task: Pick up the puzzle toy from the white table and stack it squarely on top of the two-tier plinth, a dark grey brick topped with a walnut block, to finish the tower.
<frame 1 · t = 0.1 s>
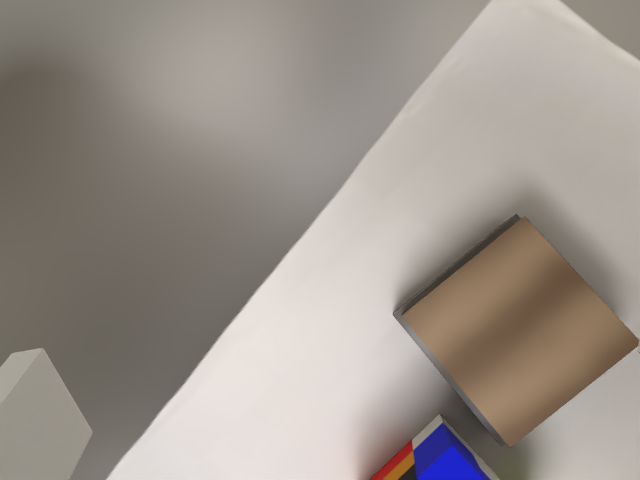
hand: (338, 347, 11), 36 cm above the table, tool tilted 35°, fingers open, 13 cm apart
plinth: (498, 325, 45), on the table
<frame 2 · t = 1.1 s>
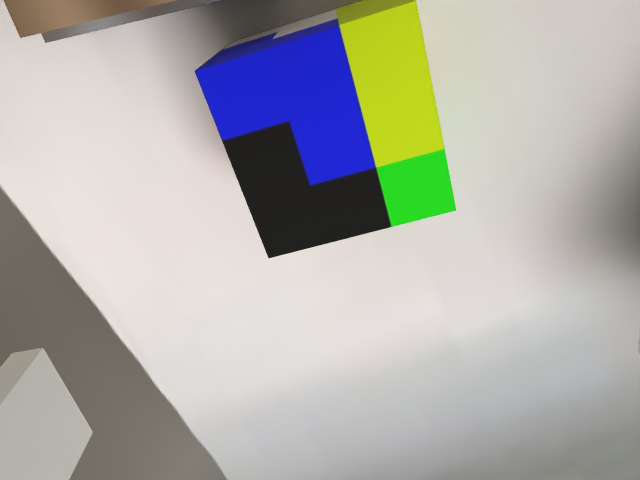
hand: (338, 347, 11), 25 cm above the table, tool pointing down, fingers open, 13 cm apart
puzzle toy: (331, 97, 33), on the table
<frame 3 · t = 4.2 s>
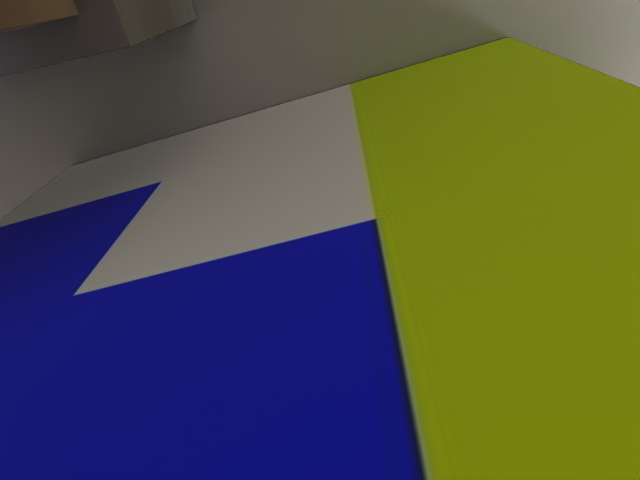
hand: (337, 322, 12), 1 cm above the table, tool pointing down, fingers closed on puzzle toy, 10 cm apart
puzzle toy: (336, 286, 14), on the table, touching gripper
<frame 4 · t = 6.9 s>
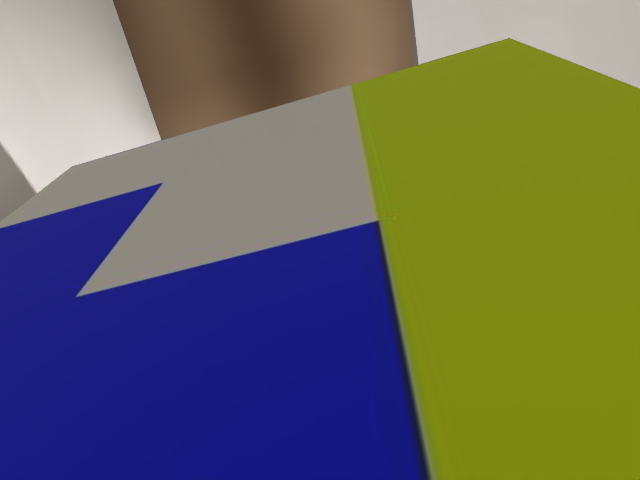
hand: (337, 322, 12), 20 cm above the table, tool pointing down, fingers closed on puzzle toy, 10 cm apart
puzzle toy: (337, 287, 14), point 19 cm above the table, touching gripper
plinth: (289, 52, 29), on the table
when the fingers open (10 cm above the table, at t = 10.0 s): puzzle toy drops 2 cm, resting on plinth.
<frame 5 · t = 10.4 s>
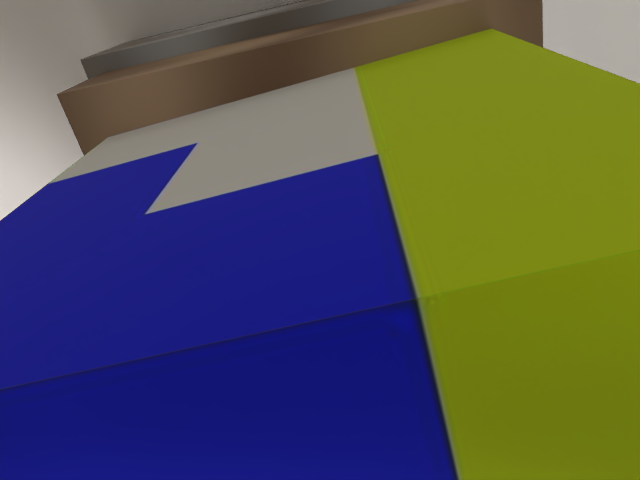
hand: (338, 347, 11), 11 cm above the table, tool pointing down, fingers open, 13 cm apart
puzzle toy: (339, 250, 15), point 7 cm above the table, touching plinth
plinth: (333, 171, 21), on the table
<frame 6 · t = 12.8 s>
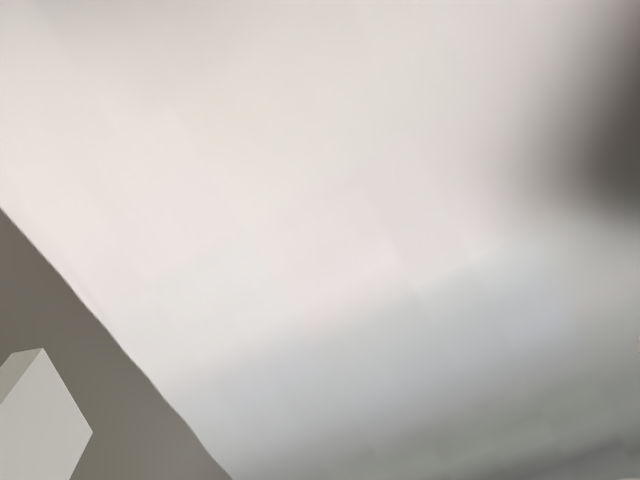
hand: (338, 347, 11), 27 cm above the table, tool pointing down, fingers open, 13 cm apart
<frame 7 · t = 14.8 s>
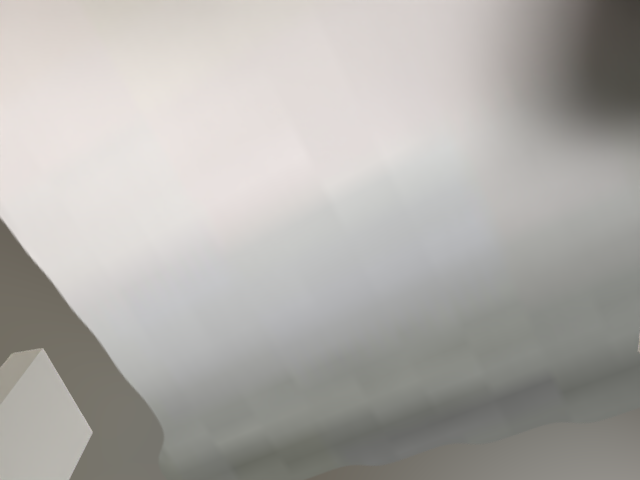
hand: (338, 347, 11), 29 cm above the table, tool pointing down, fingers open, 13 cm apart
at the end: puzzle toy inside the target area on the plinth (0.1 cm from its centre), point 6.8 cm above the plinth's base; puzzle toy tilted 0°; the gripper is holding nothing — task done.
